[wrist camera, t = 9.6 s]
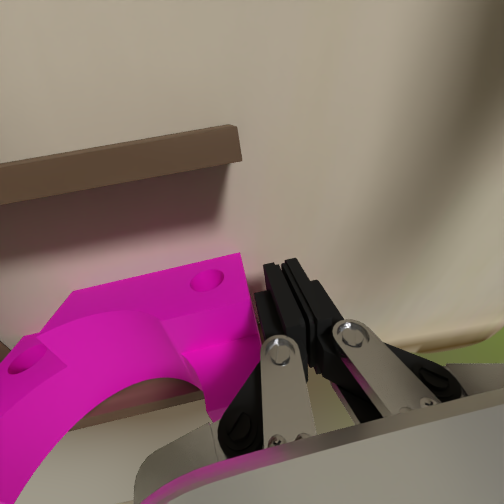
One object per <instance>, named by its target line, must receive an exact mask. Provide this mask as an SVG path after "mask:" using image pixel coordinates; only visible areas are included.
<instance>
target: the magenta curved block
mask: <svg viewBox="0 0 504 504" xmlns="http://www.w3.org/2000/svg"><path fill="white" fill-rule="evenodd" d="M261 347H262V344H261V339H260V335H259V330H258V326H257V322H256V317H255V313H254V309H253V305H252V301H251V297H250V292H249V288H248V284H247V280H246V276H245V272H244V267H243V263H242V259H241V255H240V252H239V253H235V254H231V255H226V256H222V257H218V258H214V259H209V260H205V261H201V262H196V263H192V264H188V265H183V266H179V267H175V268H171V269H166V270H162V271H158V272H153V273H149V274H145V275H140V276H136V277H132V278H128V279H123V280H119V281H115V282H110V283H106V284H102V285H97V286H93V287H89V288H85V289H80V290H76V291H73V292H72V293H71V294H70V295H69V296H68V298H67V299H66V300H65V301H64V303H63V304H62V305H61V306H60V308H59V309H58V310H57V311H56V313H55V314H54V315H53V316H52V318H51V319H50V320H49V321H48V322H47V324H46V325H45V326H44V327H43V329H42V330H41V331H40V332H39V333H35V334H31V335H27V336H23V338H22V339H21V340H20V341H19V342H18V343H17V345H16V346H15V347H14V348H13V349H12V350H11V351H10V353H9V354H8V355H7V356H6V357H5V358H4V360H3V361H2V362H1V363H0V504H14V503H15V501H16V499H17V498H18V496H19V494H20V493H21V491H22V490H23V488H24V486H25V485H26V483H27V482H28V481H29V479H30V478H31V476H32V475H33V473H34V472H35V470H36V469H37V468H38V466H39V465H40V464H41V462H42V461H43V460H44V458H45V457H46V456H47V455H48V453H49V452H50V451H51V450H52V449H53V447H54V446H55V445H56V444H57V443H58V442H59V441H60V439H61V438H62V437H63V436H64V435H65V434H66V433H67V432H68V431H69V430H70V429H71V428H72V427H73V426H74V425H75V424H76V423H77V422H78V421H79V420H80V419H81V418H83V417H84V416H85V415H86V414H87V413H88V412H90V411H91V410H92V409H93V408H94V407H96V406H97V405H98V404H100V403H101V402H103V401H104V400H105V399H107V398H108V397H110V396H112V395H113V394H115V393H117V392H118V391H120V390H122V389H124V388H126V387H128V386H131V385H133V384H136V383H138V382H141V381H145V380H149V379H154V378H176V379H181V380H184V381H187V382H189V383H191V384H193V385H195V386H196V387H198V388H199V389H200V390H202V391H203V393H204V397H205V404H206V411H207V413H208V415H209V417H210V418H211V420H212V422H213V423H214V422H216V421H217V420H219V419H221V417H222V415H223V414H224V412H225V411H226V409H227V408H228V406H229V405H230V403H231V402H232V400H233V399H234V398H235V396H236V395H237V393H238V392H239V390H240V389H241V387H242V386H243V385H244V383H245V382H246V380H247V379H248V377H249V376H250V374H251V373H252V372H253V370H254V369H255V367H256V366H257V364H258V363H259V361H260V360H261V359H260V351H261Z"/></svg>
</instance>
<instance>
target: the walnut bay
mask: <svg viewBox="0 0 504 504" xmlns="http://www.w3.org/2000/svg"><path fill="white" fill-rule="evenodd" d="M240 161H242V155H241V149H240V142H239V136H238V130H237V127H236V126H233V125H229V124H228V125H222V126H216V127H210V128H205V129H199V130H193V131H187V132H181V133H176V134H170V135H164V136H158V137H152V138H146V139H141V140H135V141H129V142H123V143H117V144H112V145H106V146H100V147H94V148H88V149H83V150H77V151H71V152H65V153H59V154H53V155H48V156H42V157H36V158H30V159H24V160H19V161H13V162H7V163H1V164H0V205H4V204H9V203H15V202H20V201H26V200H31V199H37V198H42V197H48V196H53V195H59V194H64V193H70V192H75V191H81V190H86V189H92V188H97V187H103V186H108V185H113V184H119V183H124V182H130V181H135V180H141V179H146V178H152V177H157V176H163V175H168V174H174V173H179V172H185V171H190V170H196V169H201V168H207V167H212V166H218V165H223V164H229V163H234V162H240ZM257 326H258V330H259V335H260V339H261V344H262V345H263V343H264V342H265V341H264V337H263V333H262V328H261V324H257ZM10 351H11V350H9V349H8V348H7V347H6V346H5V345H4V344H2V343H1V342H0V363H1V362H2V361H3V360H4V358H5V357H6V356H7V355H8V354H9V353H10ZM201 399H205V397H204V393H203V391H202V390H200V389H199V388H198V387H196V386H195V385H193V384H191V383H189V382H187V381H184V380H181V379H176V378H154V379H149V380H145V381H141V382H138V383H136V384H133V385H131V386H128V387H126V388H124V389H122V390H120V391H118V392H117V393H115V394H113V395H112V396H110V397H108V398H107V399H105V400H104V401H103V402H101V403H100V404H98V405H97V406H96V407H94V408H93V409H92V410H91V411H90V412H88V413H87V414H86V415H85V416H84V417H83V418H81V419H80V420H79V421H78V422H77V423H76V424H75V425H74V426H73V427H72V428H71V429H70V430H69V431H72V430H77V429H81V428H85V427H89V426H93V425H98V424H102V423H106V422H110V421H114V420H118V419H122V418H127V417H131V416H135V415H139V414H143V413H147V412H151V411H155V410H160V409H164V408H168V407H172V406H176V405H180V404H185V403H188V402H193V401H197V400H201ZM69 431H68V432H69Z"/></svg>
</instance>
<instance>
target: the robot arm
mask: <svg viewBox="0 0 504 504" xmlns="http://www.w3.org/2000/svg"><path fill="white" fill-rule="evenodd" d="M263 268H264V275H265V282H266V289H267V291H262V292H258V293H254V295H255V301H256V306H257V311H258V316H259V320H260V324H261V328H262V333H263V337H264V341H265V342H264V343H263V345H262V347H261V351H260V359H261V360H260V361H259V363H258V364H257V366H256V367H255V369H254V370H253V372H252V373H251V374H250V376H249V377H248V379H247V380H246V382H245V383H244V385H243V386H242V387H241V389H240V390H239V392H238V393H237V395H236V396H235V398H234V399H233V400H232V402H231V403H230V405H229V406H228V408H227V409H226V411H225V412H224V414H223V415H222V417H221V419H219V420H217V421H216V422H214V423H212V424H210V423H207V424H205V425H203V426H201V427H199V428H197V429H195V430H194V431H192V432H190V433H188V434H186V435H184V436H182V437H180V438H179V439H177V440H175V441H173V442H171V443H169V444H167V445H166V446H164V447H162V448H160V449H158V450H156V451H155V452H153V453H152V454H151V455H149V456H148V457H147V458H146V460H145V461H144V462H143V463H142V465H141V467H140V469H139V471H138V473H137V475H136V480H135V485H134V504H504V364H446V366H441V365H439V364H437V363H434V362H432V361H430V360H427V359H425V358H422V357H420V356H417V355H414V354H412V353H409V352H407V351H404V350H402V349H399V348H396V347H394V346H391V345H389V344H386V343H384V342H382V341H381V340H380V339H379V338H378V337H377V336H376V335H375V333H374V332H373V331H372V330H371V329H370V328H369V327H367V326H366V325H365V324H363V323H361V322H359V321H356V320H352V319H345V320H344V318H343V317H342V315H341V314H340V312H339V311H338V309H337V308H336V306H335V305H334V303H333V302H332V300H331V299H330V297H329V296H328V294H327V293H326V291H325V290H324V288H323V287H322V285H321V284H320V282H319V281H318V280H313V281H310V280H309V278H308V277H307V275H306V273H305V272H304V270H303V269H302V267H301V265H300V264H299V262H298V260H297V259H296V258H292V259H288V260H285V263H282V264H281V268H282V270H281V268H280V266H279V264H278V265H275V264H274V262H273V263H269V264H264V265H263ZM308 365H309V367H310V368H312V367H314V369H315V372H316V374H322V376H323V377H324V378H326V379H328V380H330V383H331V386H332V388H333V389H334V391H335V392H336V394H337V396H338V397H339V399H340V401H341V402H342V404H343V405H344V407H345V408H346V410H347V412H348V414H349V415H350V417H351V419H352V420H353V422H354V423H355V425H354V426H350V427H346V428H342V429H338V430H335V431H331V432H327V433H323V434H319V435H317V433H316V429H315V424H314V419H313V414H312V409H311V404H310V400H309V395H308V390H307V385H306V384H307V381H308Z"/></svg>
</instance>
